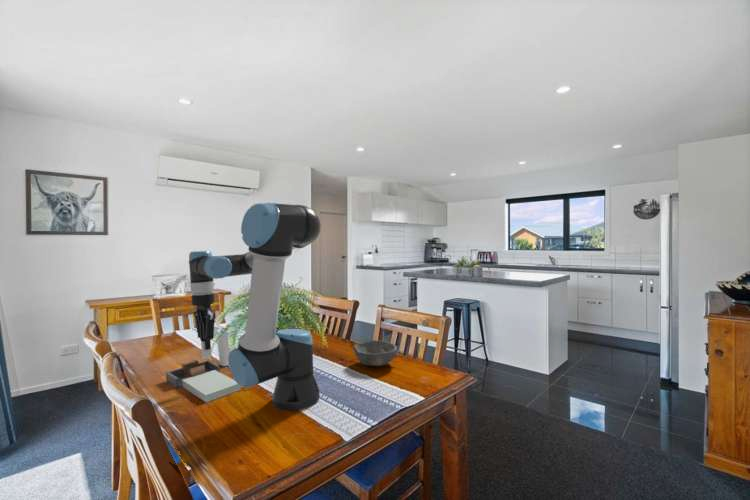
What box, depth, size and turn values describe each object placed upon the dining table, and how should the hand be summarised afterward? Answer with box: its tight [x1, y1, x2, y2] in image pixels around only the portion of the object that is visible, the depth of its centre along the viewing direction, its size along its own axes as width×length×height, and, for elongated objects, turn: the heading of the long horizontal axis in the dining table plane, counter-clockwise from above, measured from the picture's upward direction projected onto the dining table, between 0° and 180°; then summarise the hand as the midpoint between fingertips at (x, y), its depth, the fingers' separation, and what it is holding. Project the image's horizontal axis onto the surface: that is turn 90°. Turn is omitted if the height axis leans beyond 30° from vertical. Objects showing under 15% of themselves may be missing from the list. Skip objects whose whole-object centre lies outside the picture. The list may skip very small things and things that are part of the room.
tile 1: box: [181, 359, 200, 378], centre depth 139 cm, size 5×5×3 cm
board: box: [181, 370, 241, 403], centre depth 128 cm, size 20×12×2 cm, turn 49°
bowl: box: [353, 340, 398, 367], centre depth 147 cm, size 18×18×8 cm
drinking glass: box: [216, 328, 231, 367], centre depth 151 cm, size 7×7×15 cm
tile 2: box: [186, 365, 206, 378], centre depth 136 cm, size 5×5×3 cm
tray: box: [165, 359, 221, 389], centre depth 138 cm, size 10×16×4 cm, turn 139°
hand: (206, 357), depth 129 cm, fingers closed
